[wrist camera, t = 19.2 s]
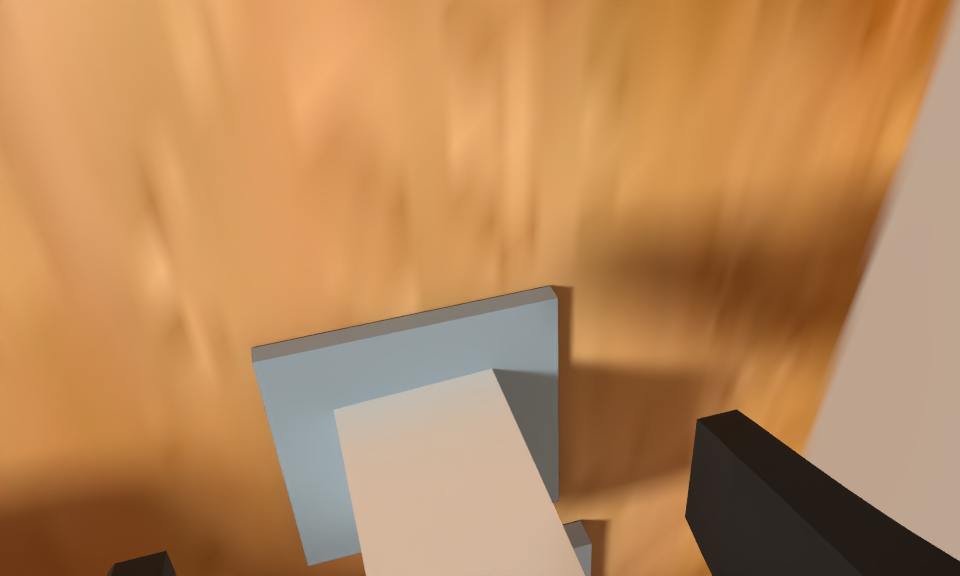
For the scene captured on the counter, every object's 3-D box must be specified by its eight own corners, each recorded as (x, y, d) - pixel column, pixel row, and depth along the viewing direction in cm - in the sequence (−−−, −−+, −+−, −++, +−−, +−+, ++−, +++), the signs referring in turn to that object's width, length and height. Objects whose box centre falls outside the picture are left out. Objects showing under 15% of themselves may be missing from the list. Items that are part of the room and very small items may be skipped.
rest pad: (306, 550, 26) (308, 566, 26) (251, 348, 22) (252, 362, 21) (552, 487, 28) (558, 501, 27) (550, 285, 23) (557, 297, 23)
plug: (362, 517, 25) (410, 748, 20) (333, 409, 23) (378, 639, 17) (505, 477, 26) (590, 688, 20) (492, 368, 23) (585, 575, 18)
